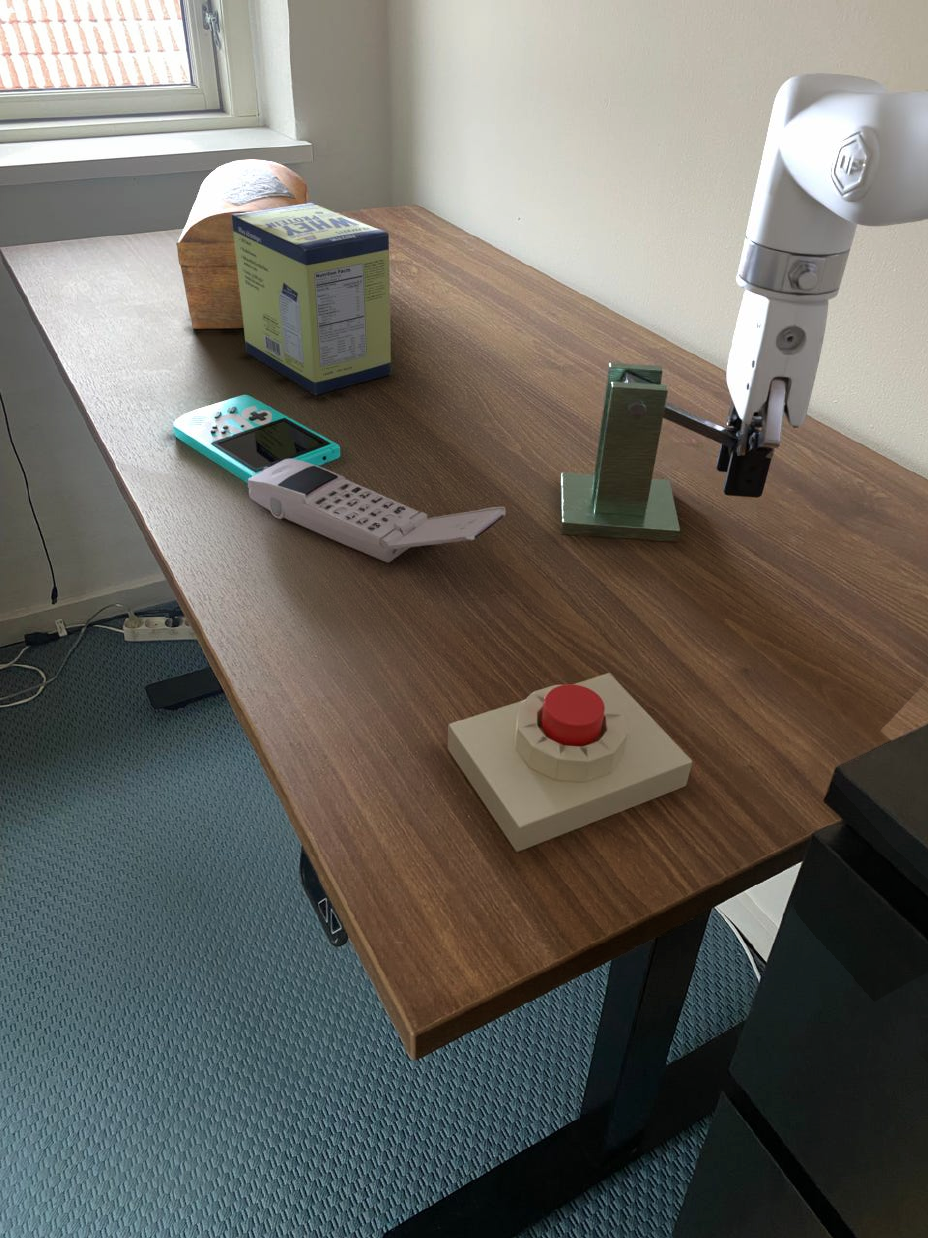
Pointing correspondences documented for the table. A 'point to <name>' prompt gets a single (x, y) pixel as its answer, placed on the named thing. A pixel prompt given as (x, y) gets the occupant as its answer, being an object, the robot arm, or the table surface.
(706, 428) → the lever
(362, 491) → the mobile phone
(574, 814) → the button block
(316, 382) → the protein box
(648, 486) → the bracket
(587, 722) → the button
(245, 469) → the handheld game console
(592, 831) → the table surface
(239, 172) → the wooden box
